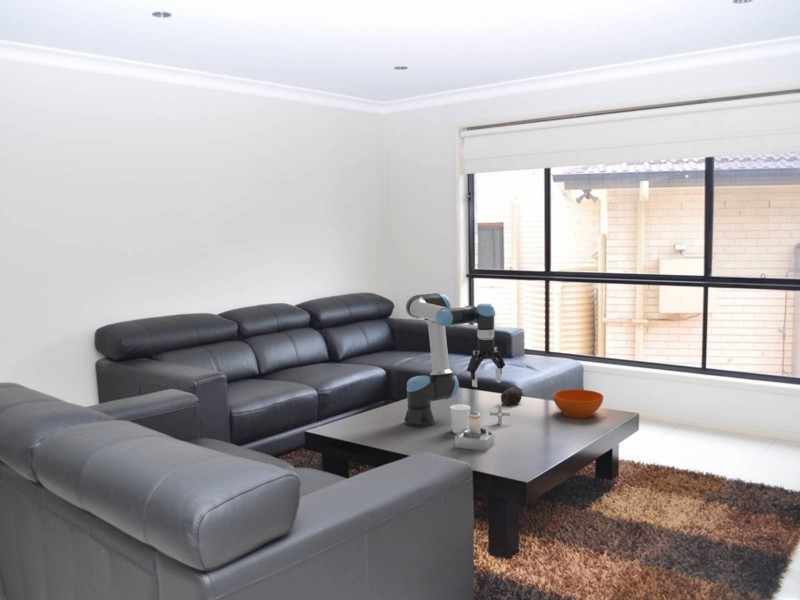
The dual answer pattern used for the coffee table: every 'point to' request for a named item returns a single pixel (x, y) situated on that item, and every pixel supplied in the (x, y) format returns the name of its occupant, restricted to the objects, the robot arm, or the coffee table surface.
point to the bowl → (578, 402)
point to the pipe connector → (500, 413)
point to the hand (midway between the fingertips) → (486, 384)
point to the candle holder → (459, 417)
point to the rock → (511, 396)
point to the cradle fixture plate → (475, 440)
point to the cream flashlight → (474, 422)
